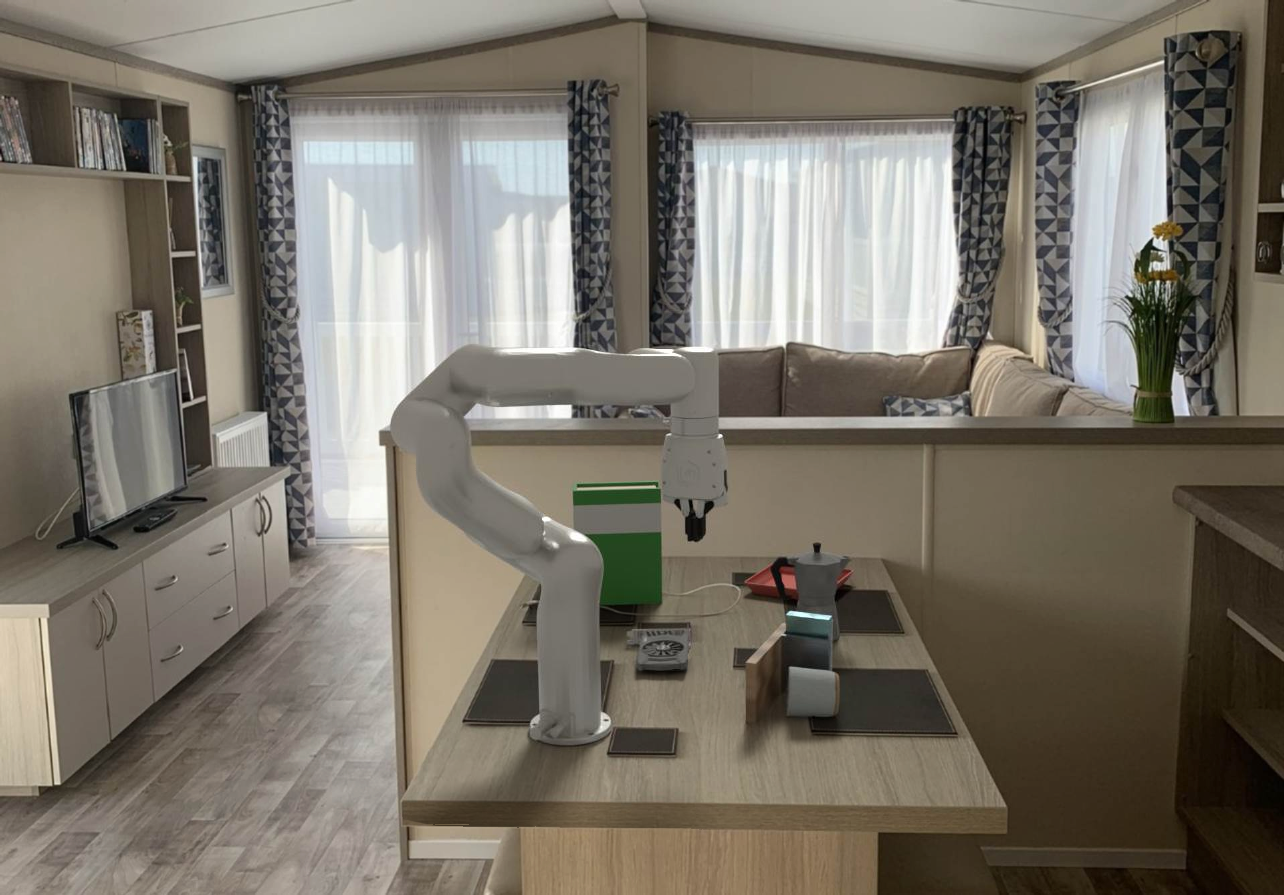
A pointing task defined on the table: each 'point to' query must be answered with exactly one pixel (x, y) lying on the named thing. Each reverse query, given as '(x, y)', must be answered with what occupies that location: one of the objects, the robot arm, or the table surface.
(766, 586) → the plant saucer
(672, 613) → the table surface
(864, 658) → the table surface
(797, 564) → the coffeepot
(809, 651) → the bookend and books
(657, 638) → the graphics card
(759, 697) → the wooden board
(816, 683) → the ceramic mug
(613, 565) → the hardback book
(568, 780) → the table surface
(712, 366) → the robot arm
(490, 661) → the table surface
